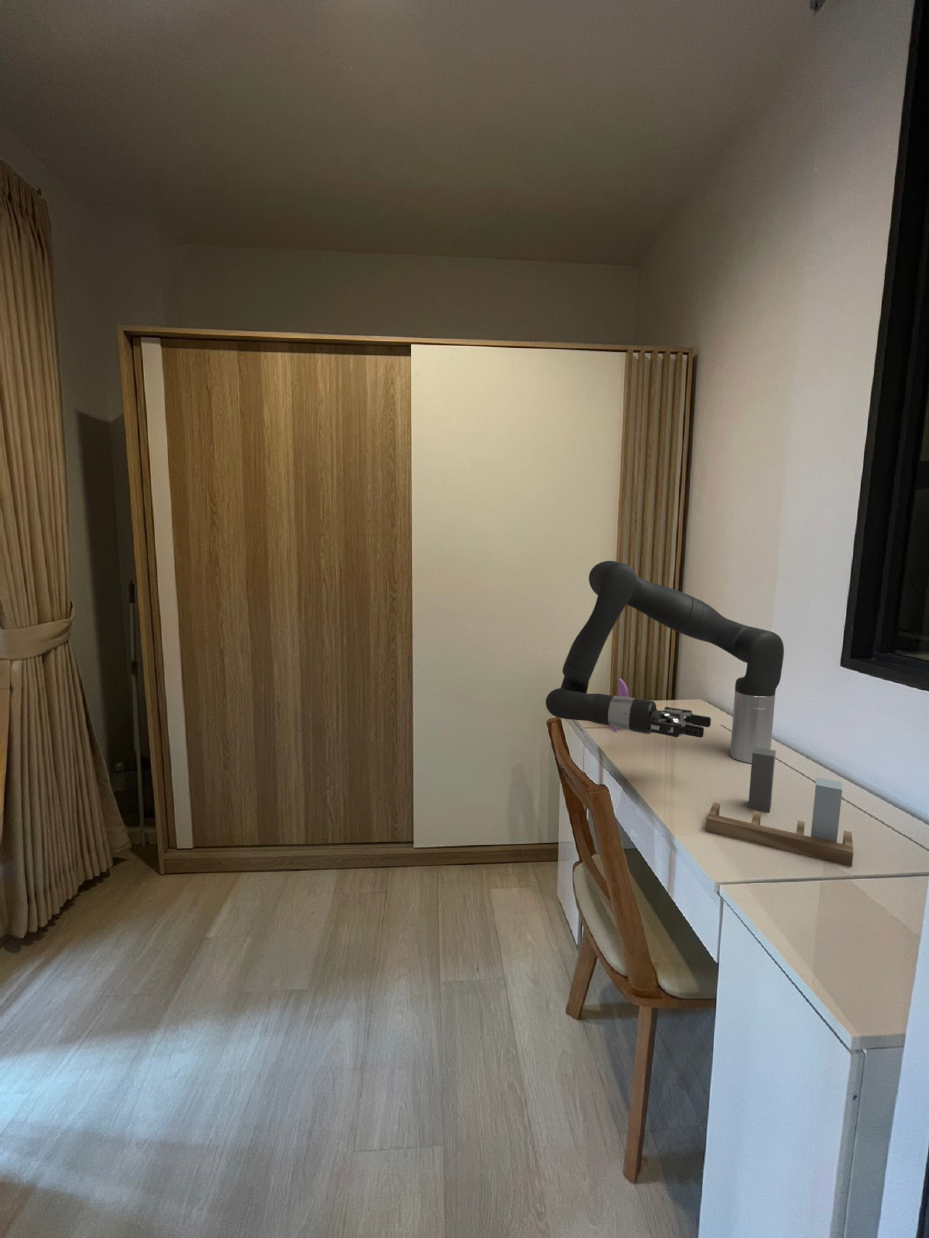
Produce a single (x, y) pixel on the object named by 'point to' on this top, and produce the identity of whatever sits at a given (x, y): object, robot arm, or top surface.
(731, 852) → the top surface
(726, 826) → the cable comb
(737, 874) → the top surface
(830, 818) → the slate plug
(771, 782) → the grey tall rectangular block
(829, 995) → the top surface
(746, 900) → the top surface
